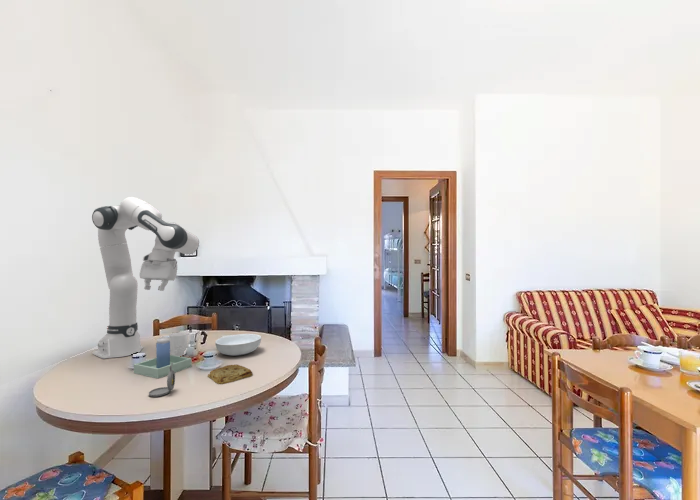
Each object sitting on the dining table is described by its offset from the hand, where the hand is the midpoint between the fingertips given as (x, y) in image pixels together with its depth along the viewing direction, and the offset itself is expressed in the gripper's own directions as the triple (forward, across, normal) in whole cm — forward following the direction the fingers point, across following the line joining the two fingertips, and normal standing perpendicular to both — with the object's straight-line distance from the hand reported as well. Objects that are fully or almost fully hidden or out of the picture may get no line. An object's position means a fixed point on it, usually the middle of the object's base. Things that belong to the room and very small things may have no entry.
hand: (153, 290), depth 147 cm
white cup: (+27, +6, -24) cm, 37 cm away
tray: (+31, -8, -8) cm, 33 cm away
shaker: (+31, -7, -8) cm, 32 cm away
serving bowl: (+23, -18, -38) cm, 48 cm away
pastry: (+30, -38, -14) cm, 51 cm away
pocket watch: (+36, -31, +7) cm, 48 cm away
